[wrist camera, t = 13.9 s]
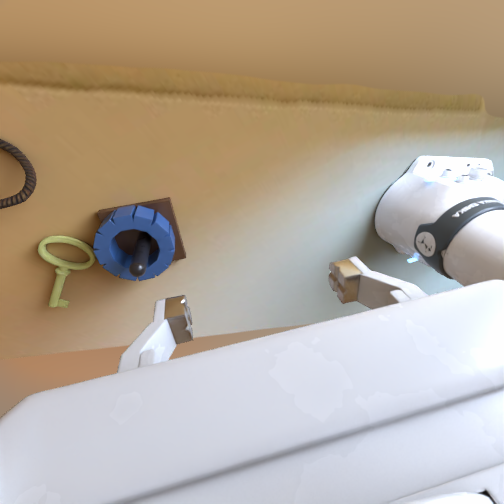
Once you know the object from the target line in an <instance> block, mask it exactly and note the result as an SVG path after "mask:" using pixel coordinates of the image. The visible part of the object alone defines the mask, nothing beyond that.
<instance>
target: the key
mask: <svg viewBox="0 0 504 504" xmlns="http://www.w3.org/2000/svg"><path fill="white" fill-rule="evenodd" d="M53 242H62V243H68V244H72V245H75V246H77V247H79V248H81V249H82V250H84V251H85V252H86V253H87V254H88V255H89V256H90V260H89V261H88V262H85V263H74V262H69V261H65V260H62V259H59V258H56V257H54V256H53V255H51V254H50V253H48V251H47V250H46V244H48V243H53ZM38 252H39V254H40V256H41V257H42V258H43V259H44V260H46V261H47V262H49V263H51V264H53V265H56V266H59V267H58V268H56V269H55V272H56V273H57V277H56V280H55V283H54V287H53V290H52V294H51V297H50V301H49V304H48V305H49V306H50V307H57V306H59V307H64V308H68V304H69V302H70V301H67V300H62V299H59V298H60V295H61V292H62V288H63V285H64V282H65V278H66V275H69V274H70V270H69V269H73V270H81V269H86V268H89V267H90V266H91V265H92V264H93V263H94V262H95V259H96V255H95V253H94V250H93V249H92V248H91V247H90V246H89V245H87V244H86V243H84V242H82V241H80V240H77V239H75V238H71V237H67V236H50V237H46V238H44V239H43V240H42V241H41V242H40V244H39V247H38Z"/></svg>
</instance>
